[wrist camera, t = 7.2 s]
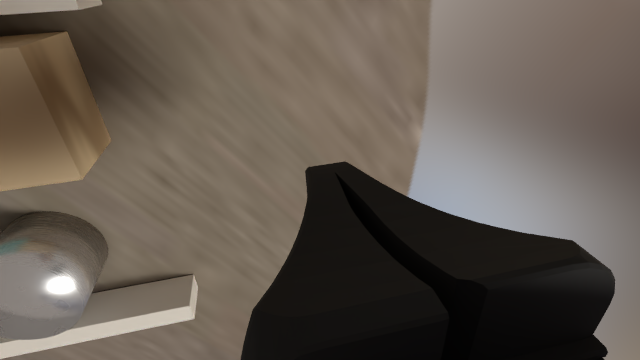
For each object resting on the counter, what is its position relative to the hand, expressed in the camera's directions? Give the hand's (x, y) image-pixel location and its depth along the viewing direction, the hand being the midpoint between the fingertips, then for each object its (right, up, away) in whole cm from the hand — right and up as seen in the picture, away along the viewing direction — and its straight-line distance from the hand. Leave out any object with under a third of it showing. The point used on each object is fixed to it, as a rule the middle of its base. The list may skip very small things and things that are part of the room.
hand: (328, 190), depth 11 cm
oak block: (-13, +4, +4) cm, 14 cm away
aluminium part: (-15, -3, +8) cm, 17 cm away
